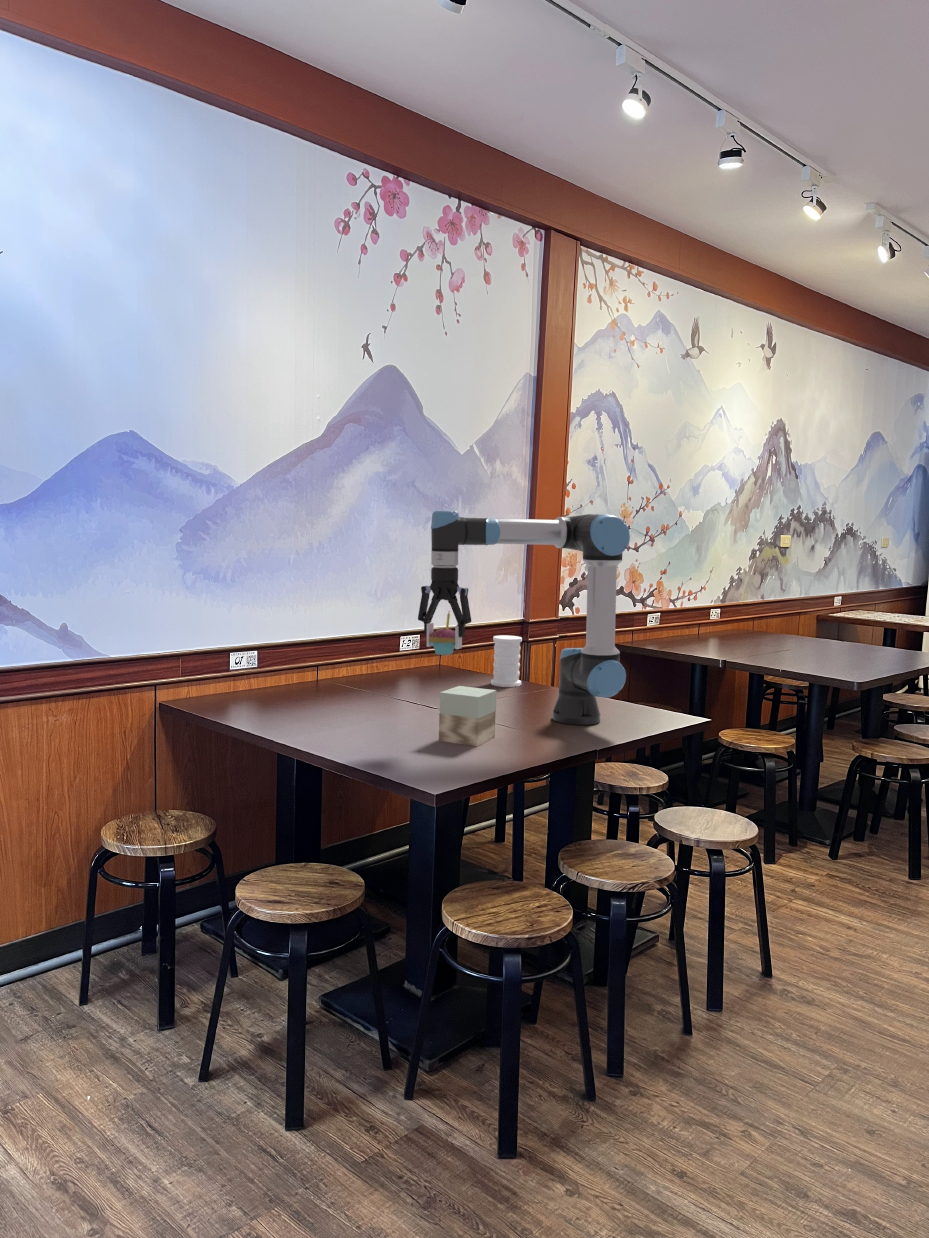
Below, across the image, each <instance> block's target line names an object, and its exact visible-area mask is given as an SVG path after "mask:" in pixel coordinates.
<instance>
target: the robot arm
mask: <svg viewBox="0 0 929 1238" xmlns="http://www.w3.org/2000/svg"><path fill="white" fill-rule="evenodd" d="M459 515H460V514H459V512H458V511H456V510H435V511H433V512H432V515H431V523H430V529H431V539H430V540H431V551H430V552H431V554H430V555H431V557H430V558H431V560H430V562H431V563H430V564H431V566H432V567H431V569H430V573H431V574H430V580H431V583H430V585H422V586H421V588H420V591H421V598H420V603H419V608H418V609H419V610H418V614H417V620H418V621H420V622H422V623H423V633H424V635H426V647H427V648H430V647H434V646H433V644H432V642H429V637H430V636H429V635H430V634H431V633H432V632H434V631H435V629H434V626H435V625H434V622H433V621H432V620H433V617H434V616H435V612H436V611H437V609H438V606H439V603H440V602H441V600H444V601H447V602H448V604H449V605H450V607H451V610H452V612H453V615H454V617H455V621H456V623H457V624H456V625H455V626H454V627H455V630H454V631H455V647H454V650H459V649H462V648H463V638H464V637H465V635H466V633H465V630H466V629H465V628H466V625H468V624H470V623H472V615H471V609H470V604H469V598H468V594H469V588H468V587H461V586H460V585H459V583H458V582H459V568H458V567H457V566H458V565H459V546H486V547H487V546H491V545H493V546H494V545H500V544H501V545H541V546H544V545H545V546H547V545H548V546H554V547H555V548H557V549H566V550H567V549H568V550H573V551H574V550H575V551H578V552H582V561H583V562H584V563H585V564H586V567H587V580H586V581H587V582H586V583H587V584H586V588H587V589H586V621H585V622H586V625H585V628H586V629H585V631H586V632H585V637H586V638H585V645H584V647H567V648H563V649H562V650H561V651H560V656H559V659H558V660H559V675H558V677H559V678H558V680H559V682H558V696H557V697H556V698H557V699H556V701H555V704H554V707H553V710H552V715H551V719H552V720H553V721H554V722H557V723H561V724H565V725H566V724H567V725H574V726H583V725H584V726H587V725H588V726H589V725H596V724H599V723H600V722H601V711H600V707H599V704H598V701H597V698H603V699H606V698H607V699H608V698H611V697H614V696H616V695H617V694H618V693H619V692H620V691H621V690H622V689H623V688H624V685H625V683H626V680H627V679H626V678H627V672H626V669H625V667H624V666H623V664H622V663H621V662H620V657H621V656H620V655H621V652H620V650H619V649H618V648H617V647H616V615H617V614H616V613H617V611H616V610H617V609H616V608H617V575H618V574H617V571H618V566H619V565H620V564H621V562H623V553H624V552H625V550H626V549H627V548H628V546H629V544H630V539H631V533H630V530H629V526H628V525H627V524H626V522H625V521H624V520H623V519H622V518H620V517H619V516H616V515H612V514H607V513H605V514H592V513H591V514H590V513H589V514H579V515H573V516H557V517H556V518H555V519H538V518H537V519H534V518H533V519H532V518H531V519H527V518H497V517H496V518H493V517H491V518H490V517H489V518H488V517H463V516H462V517H461V516H459ZM431 592H432V594H433V595H432V598H431V601H430V604H429V600H430V593H431ZM457 593H458V595H459V601H460V604H459V602H458V598H457Z"/></svg>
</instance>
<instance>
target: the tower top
mask: <svg viewBox="0 0 929 1238" xmlns="http://www.w3.org/2000/svg"><path fill="white" fill-rule="evenodd" d="M494 711H497V689H490V688H489V689H487V688H481V687H473V686H471V687H470V686H463V685H458V686H454V687H451V688H449V689H446V690H443V691H440V692H439V713H441V714H448V715H456V716H463V717H471V718H481V717H483V716H485V715H488V714H490V713H492V712H494Z"/></svg>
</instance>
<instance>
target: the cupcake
mask: <svg viewBox="0 0 929 1238" xmlns="http://www.w3.org/2000/svg"><path fill="white" fill-rule="evenodd" d="M450 612H451V611H450V610H448V613H447V617H446V623H445V624H446V625H445V626H446V627H445V628H439V629H436V630H434V632H432V633H431V634H430V635H429V636H430V637H429V642H432V644H433V646H432V647H433V650H434V652H435V655H438V656H439V655H441V656H445V655H446V656H448V655H453V653H454V650H455V630H454V629H451V628H449V625H450V618H451V617H450V616H451V614H450Z"/></svg>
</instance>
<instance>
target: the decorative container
mask: <svg viewBox="0 0 929 1238" xmlns="http://www.w3.org/2000/svg"><path fill="white" fill-rule="evenodd" d="M492 637H493V638H492V640H493V642H494V645H493V650H494V654H493V659H494V661H493V665H492V666H493V671H492V674H493V679H491V680H490V685H492V686H495V687H501V688H514V687H515V686H516V687H520V685H521V686H522V680H519V678H520V675H521V673H520V667H521V664H520V660H521V654H520V652H521V649H522V647H521V643H522V641H523V638H522V637H521V636H516V635H503V634H502V635H494V636H492ZM516 687H515V688H516Z"/></svg>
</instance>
